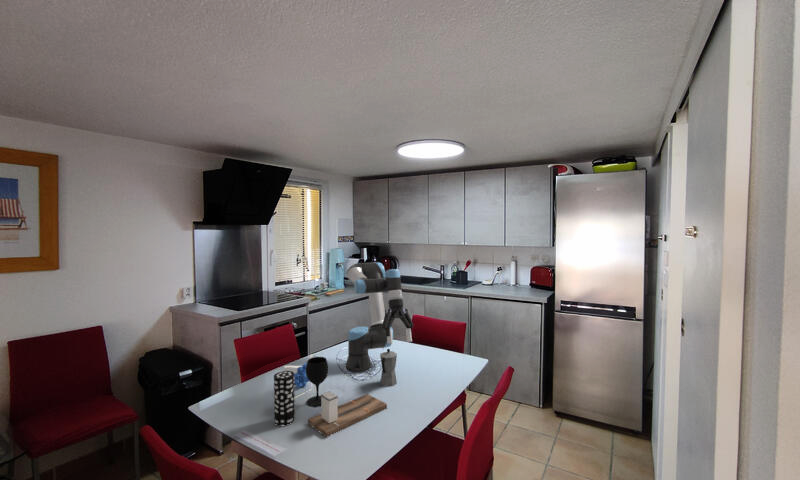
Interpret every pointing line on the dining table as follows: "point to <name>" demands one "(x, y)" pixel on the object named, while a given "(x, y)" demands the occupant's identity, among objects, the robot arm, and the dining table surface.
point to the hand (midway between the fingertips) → (400, 342)
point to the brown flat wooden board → (349, 414)
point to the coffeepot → (388, 368)
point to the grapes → (301, 376)
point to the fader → (329, 407)
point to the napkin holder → (291, 368)
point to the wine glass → (316, 377)
